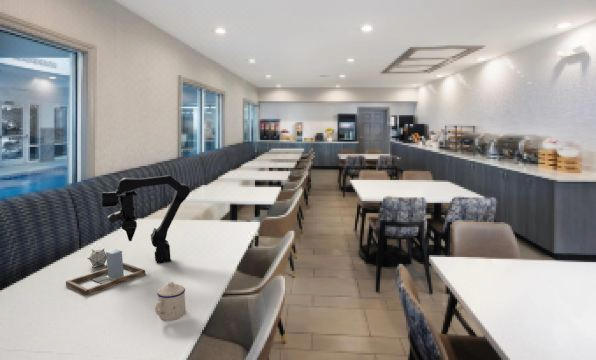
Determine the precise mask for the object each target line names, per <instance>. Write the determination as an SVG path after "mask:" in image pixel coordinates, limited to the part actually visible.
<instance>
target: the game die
mask: <svg viewBox="0 0 596 360" xmlns="http://www.w3.org/2000/svg"><path fill="white" fill-rule="evenodd" d="M91 251H92V252H91V254H90V255H89V257H88V258H87V260H89V261H90V263H91V264H92V268H94V267H98V266H99V267H100V266H103V267H106V265H105V264H106V263H107V257H106V252H105V248H103V249H97V250H94V249H91Z"/></svg>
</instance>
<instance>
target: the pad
mask: <svg viewBox="0 0 596 360" xmlns="http://www.w3.org/2000/svg"><path fill="white" fill-rule="evenodd" d="M126 275H127V274H124V276H126ZM104 277H106V278H108V279H111V280H115V279H117V278H115V279H113V278H111V277H108V275H105V276H104ZM121 277H123V276H121ZM118 278H120V277H118Z"/></svg>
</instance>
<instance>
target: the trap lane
mask: <svg viewBox="0 0 596 360" xmlns="http://www.w3.org/2000/svg"><path fill="white" fill-rule="evenodd" d="M124 269H125V270H127V271H129V272H131V273H129V274H125V275H126V276H123V277H120V278H117V279H115V280H111V279H108V278H106V277H105V276H103V275H108V269H107V268H103V269H100V270H97V271H94V272H91V273H87V274H85V275H81V276H78V277H74V278H72V279H68V280H66V281H65V287H68V288H69V289H72V290H74V291H76V292H78V293H80V294H82V295H84V296H90V295H92V294H95V293H97V292H100V291H103V290H106V289H108V288H109V289H110V288H112V287H114V286H118V285H120V284H123V283H125V282H128V281H131V280H134V279H136V278H139V277H142V276H145V275H146V270H145V269H144V268H140V267H137V266H136V265H135V266H134V265H132V264H129V263H126V262H123V270H124ZM89 280H91V281H93V282H95V283H97V285H94V286H92V287H89V288H86V287H84V286H82V285H81V284H79V283H82V282H86V281H89Z"/></svg>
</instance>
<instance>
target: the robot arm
mask: <svg viewBox="0 0 596 360" xmlns="http://www.w3.org/2000/svg"><path fill="white" fill-rule="evenodd" d="M160 185H168V186H170V187H171V188H172V189H174V193H173V198H172V201H171V203H170V205H169V207H168V210H167V211H166V213H165V215H164V217H163V218H162V221H161V222H160V225H159V226H158V227H157V228H155V227H153V230H152V232H151V234H150V242H151V244H152V246H153V247H154V248H155V250H154V260H155V261H154V262H156V264H162V263H163V264H164V263H169V262H172V259H171V246H170V243H169V241H168V240H167V235H168V231H169V229H170V226H171V225H172V222H173V220H174V218H175V217H176V214H177V212H178V211H179V208H180V207H181V205H182V203H183V202H184V201H185V200H186V199H187V197H188V196H189V195H190V193H191V189H190V187H189V186H188V185H187V184H185V183H180V182H179V181H178V180H176V179H175V178H174V177H173V176H172V175H170V174H166V175H160V176H152V177H151V176H150V177H143V178H140V177H139V178H137V177H123V178H121V179H119V182H118V186H117V188H116V189H115V191H104V192H101V204H102V205H101V206H102V208H113V207H117V205H119V204H120V207H119V210H118V211H116V212H113V213H111V214H109V215H108V216H107V219H108V221H109V223H110V224H111V225H112V224H114V223H115V222H118V221H120V223H121V229H122V230H123V231H125V232H126V235H127V239H128V241H129V242H132V241H133V238H134V235H135V232H136V230H137V227H138V223H137V222H138V221H137V220H136V212H135V211H136V207H135V197H134V196H138V195H139V194H138V192H137V191H136V190H137V189H140V188H144V187H153V186H160ZM119 202H120V203H119Z"/></svg>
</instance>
